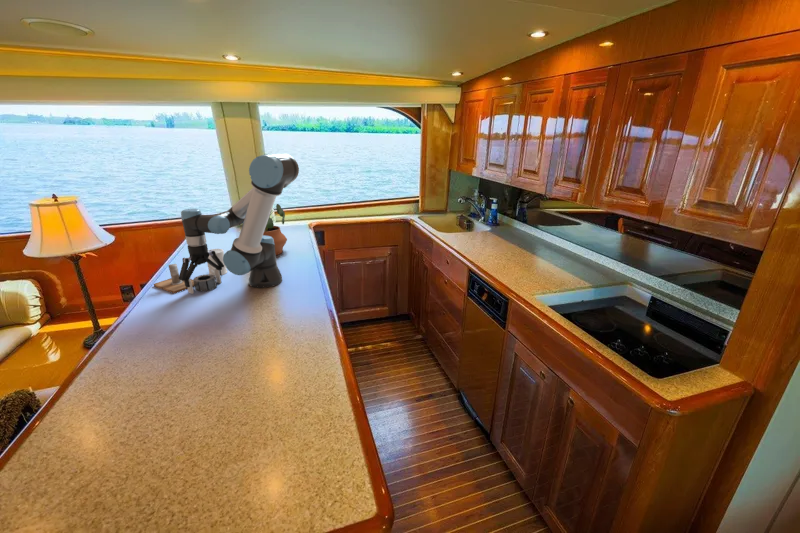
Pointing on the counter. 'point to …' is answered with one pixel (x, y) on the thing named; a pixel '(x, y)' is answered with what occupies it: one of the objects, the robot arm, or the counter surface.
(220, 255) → the mug
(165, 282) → the post block
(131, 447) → the counter surface
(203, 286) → the ring
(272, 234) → the potted plant
